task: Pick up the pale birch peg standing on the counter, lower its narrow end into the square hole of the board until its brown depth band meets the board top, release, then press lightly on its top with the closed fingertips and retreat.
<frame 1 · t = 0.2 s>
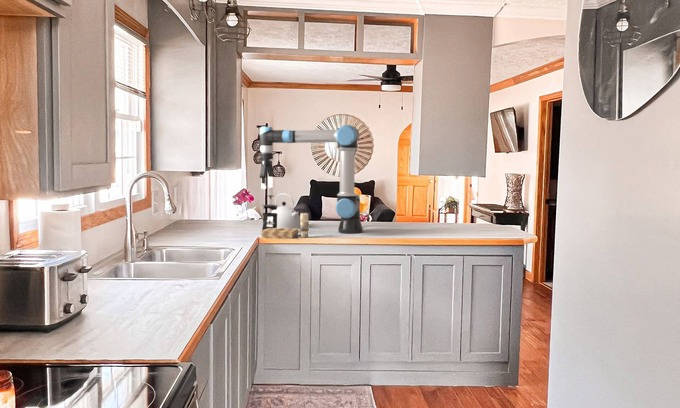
hand: (267, 188, 337), 28 cm above the table, fingers open, 13 cm apart
french press: (269, 233, 340), on the table, touching board
board: (280, 236, 328), on the table
peg: (304, 237, 324), on the table
kettle: (285, 228, 366), on the table
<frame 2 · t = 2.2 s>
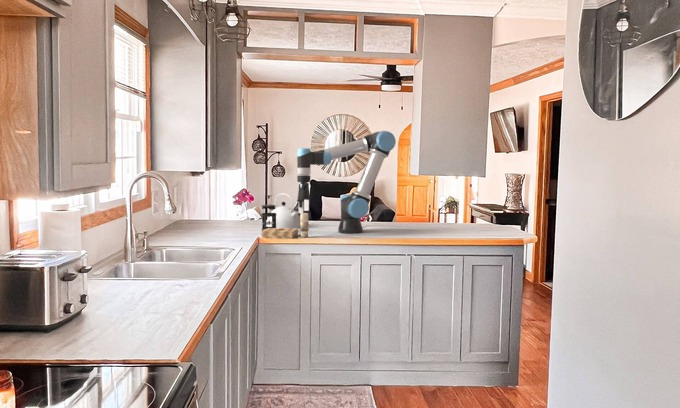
hand: (303, 211, 323), 15 cm above the table, fingers open, 13 cm apart
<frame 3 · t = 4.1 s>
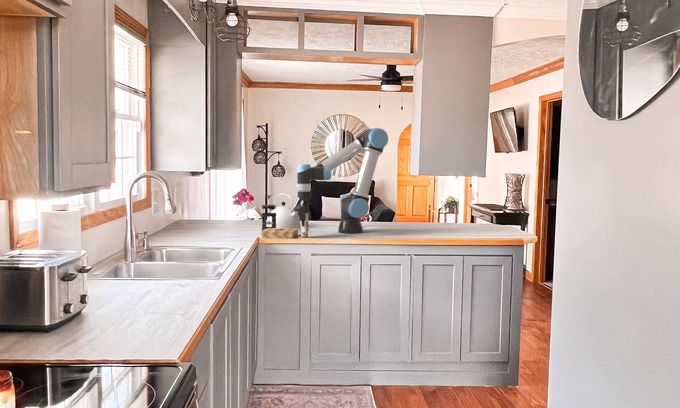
hand: (304, 230, 324), 4 cm above the table, fingers closed on peg, 5 cm apart
peg: (304, 237, 324), on the table, touching gripper
everything else where it was.
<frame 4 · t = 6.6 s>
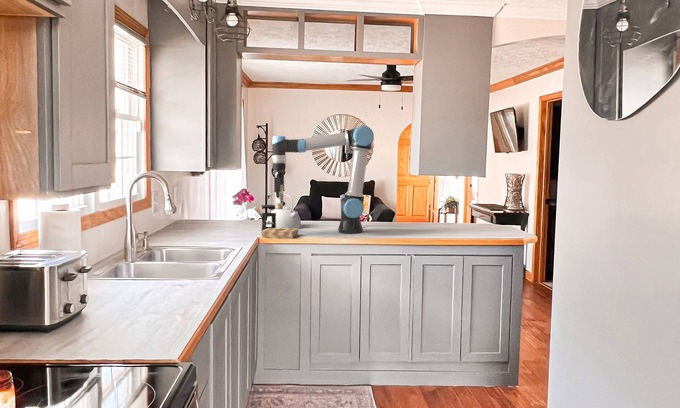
hand: (279, 202, 326), 20 cm above the table, fingers closed on peg, 5 cm apart
peg: (279, 209, 326), point 16 cm above the table, touching gripper
everything else where it was.
when the fingers open (6 cm above the table, at t = 9.1 s): peg drops 2 cm, resting in board.
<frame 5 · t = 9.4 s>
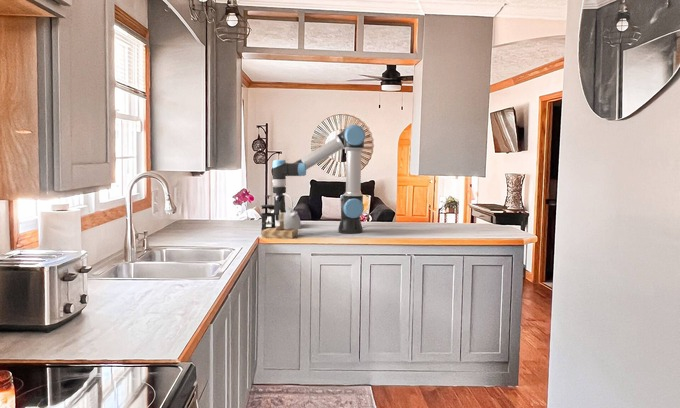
hand: (280, 224, 327), 7 cm above the table, fingers open, 9 cm apart
peg: (280, 236, 328), resting in board
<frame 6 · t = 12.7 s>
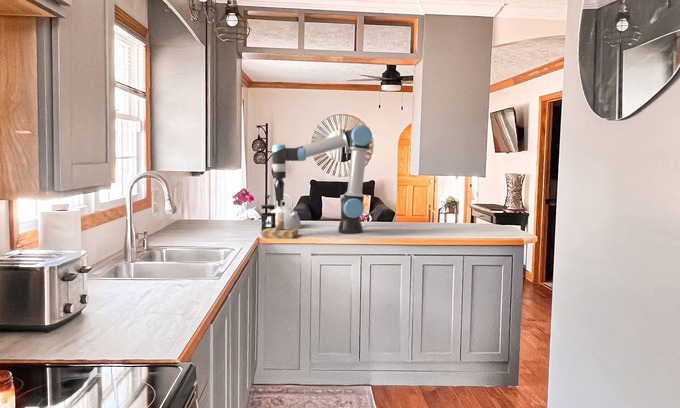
hand: (279, 211, 326), 15 cm above the table, fingers closed
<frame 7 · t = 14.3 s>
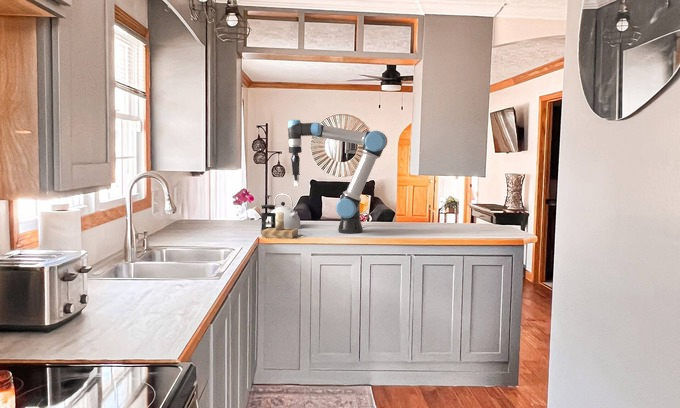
hand: (296, 185, 334), 29 cm above the table, fingers closed
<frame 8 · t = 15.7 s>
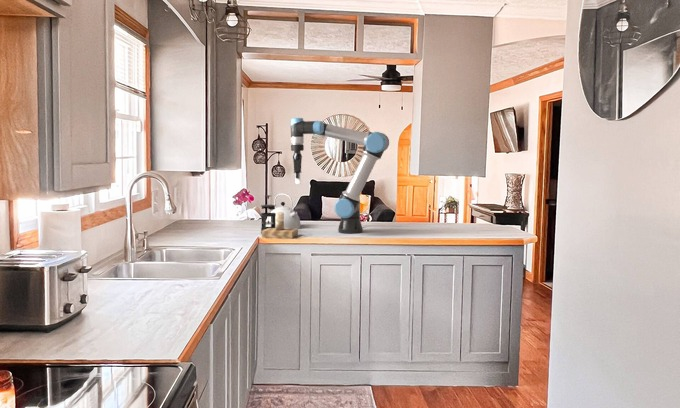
hand: (297, 183, 335), 30 cm above the table, fingers closed
at the end: peg 0.0 cm off-centre on the board, point 0.0 cm above the board's base; peg tilted 0°; the gripper is holding nothing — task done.
